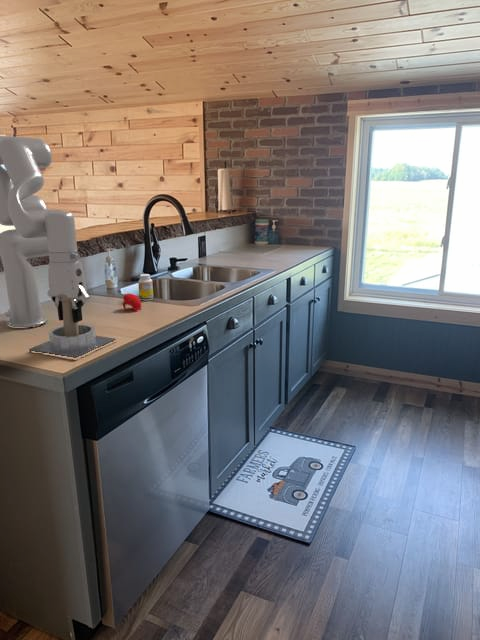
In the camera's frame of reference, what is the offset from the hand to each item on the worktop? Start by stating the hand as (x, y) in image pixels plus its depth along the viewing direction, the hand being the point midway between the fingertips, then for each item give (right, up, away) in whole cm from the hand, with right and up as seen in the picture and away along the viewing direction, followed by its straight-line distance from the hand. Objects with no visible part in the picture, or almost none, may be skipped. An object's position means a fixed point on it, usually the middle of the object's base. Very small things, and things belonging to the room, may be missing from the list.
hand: (70, 319), depth 137 cm
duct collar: (0, -8, +2) cm, 8 cm away
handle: (0, -7, +2) cm, 7 cm away
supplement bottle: (+11, +8, +56) cm, 58 cm away
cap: (+8, +4, +42) cm, 43 cm away
